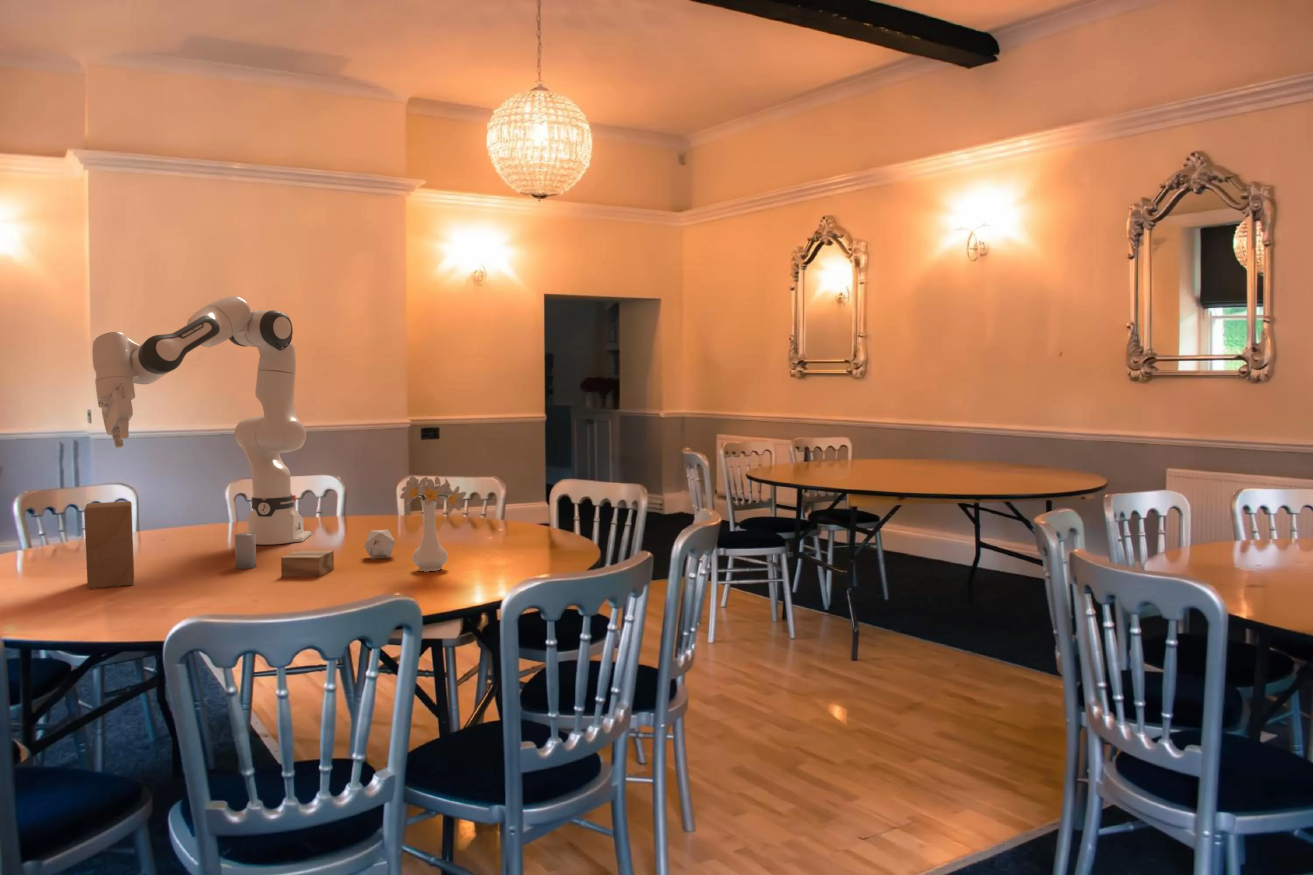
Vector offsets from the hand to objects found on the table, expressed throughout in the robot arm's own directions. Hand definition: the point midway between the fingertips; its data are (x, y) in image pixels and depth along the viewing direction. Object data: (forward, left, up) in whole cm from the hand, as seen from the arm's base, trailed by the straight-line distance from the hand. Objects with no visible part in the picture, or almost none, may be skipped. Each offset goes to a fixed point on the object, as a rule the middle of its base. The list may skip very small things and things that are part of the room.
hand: (122, 442), depth 257 cm
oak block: (-2, +48, -34) cm, 59 cm away
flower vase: (-7, +80, -35) cm, 87 cm away
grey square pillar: (-9, +28, -34) cm, 45 cm away
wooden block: (+13, +4, -35) cm, 37 cm away
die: (-24, +60, -35) cm, 73 cm away
